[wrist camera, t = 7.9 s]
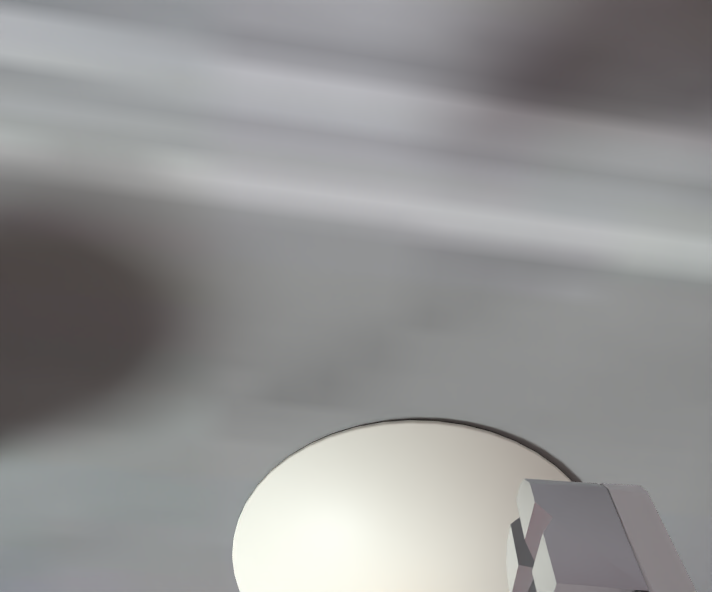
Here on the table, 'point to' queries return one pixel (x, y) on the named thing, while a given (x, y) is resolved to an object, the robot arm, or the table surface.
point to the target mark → (387, 512)
